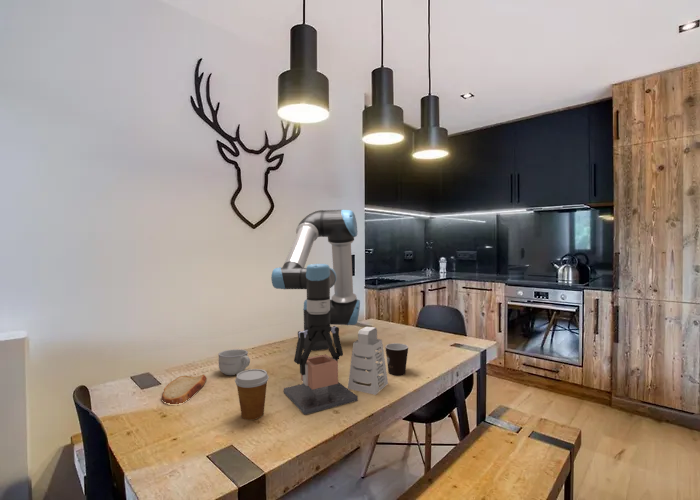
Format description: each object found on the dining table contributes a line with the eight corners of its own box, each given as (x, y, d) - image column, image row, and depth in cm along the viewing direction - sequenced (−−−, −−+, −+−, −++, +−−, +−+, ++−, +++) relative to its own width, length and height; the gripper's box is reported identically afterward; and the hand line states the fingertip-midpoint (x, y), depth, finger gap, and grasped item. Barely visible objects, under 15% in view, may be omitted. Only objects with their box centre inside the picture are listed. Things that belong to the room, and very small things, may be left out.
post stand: (283, 392, 122) (283, 367, 122) (331, 381, 131) (331, 358, 131) (304, 414, 107) (304, 386, 106) (357, 400, 116) (357, 374, 115)
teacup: (213, 373, 141) (213, 352, 140) (238, 365, 149) (238, 346, 148) (232, 382, 131) (231, 360, 131) (258, 374, 139) (257, 353, 139)
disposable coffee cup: (270, 419, 104) (269, 378, 104) (235, 425, 101) (234, 382, 101) (268, 405, 113) (267, 366, 113) (235, 409, 110) (235, 370, 110)
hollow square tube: (301, 379, 120) (300, 358, 120) (325, 374, 125) (325, 354, 125) (312, 389, 113) (311, 367, 112) (338, 383, 117) (337, 361, 117)
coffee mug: (407, 377, 134) (407, 350, 134) (384, 376, 136) (384, 349, 135) (409, 366, 145) (409, 341, 145) (387, 365, 147) (387, 340, 147)
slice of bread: (171, 409, 112) (171, 397, 112) (147, 393, 124) (147, 382, 123) (224, 390, 126) (224, 379, 125) (198, 377, 137) (198, 367, 137)
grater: (388, 383, 129) (387, 327, 128) (375, 394, 120) (375, 334, 119) (361, 378, 134) (361, 324, 133) (347, 388, 125) (346, 330, 124)
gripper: (290, 318, 109) (291, 392, 110) (353, 310, 120) (354, 378, 121) (282, 313, 116) (283, 384, 117) (342, 306, 127) (343, 371, 127)
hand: (319, 381), depth 119 cm, fingers closed on hollow square tube, 9 cm apart
